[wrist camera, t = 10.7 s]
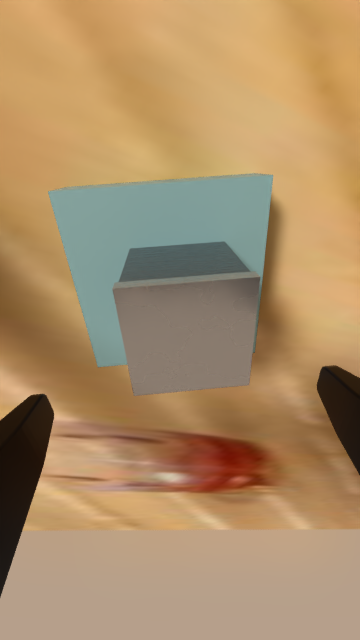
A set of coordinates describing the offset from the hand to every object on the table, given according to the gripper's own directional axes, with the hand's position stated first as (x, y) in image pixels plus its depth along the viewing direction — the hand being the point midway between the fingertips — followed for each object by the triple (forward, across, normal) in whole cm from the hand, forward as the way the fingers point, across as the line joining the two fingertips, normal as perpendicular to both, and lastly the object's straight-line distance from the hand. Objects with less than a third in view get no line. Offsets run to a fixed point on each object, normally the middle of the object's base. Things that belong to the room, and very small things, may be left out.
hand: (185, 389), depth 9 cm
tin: (+8, 0, 0) cm, 8 cm away
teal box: (+12, 0, 0) cm, 12 cm away
